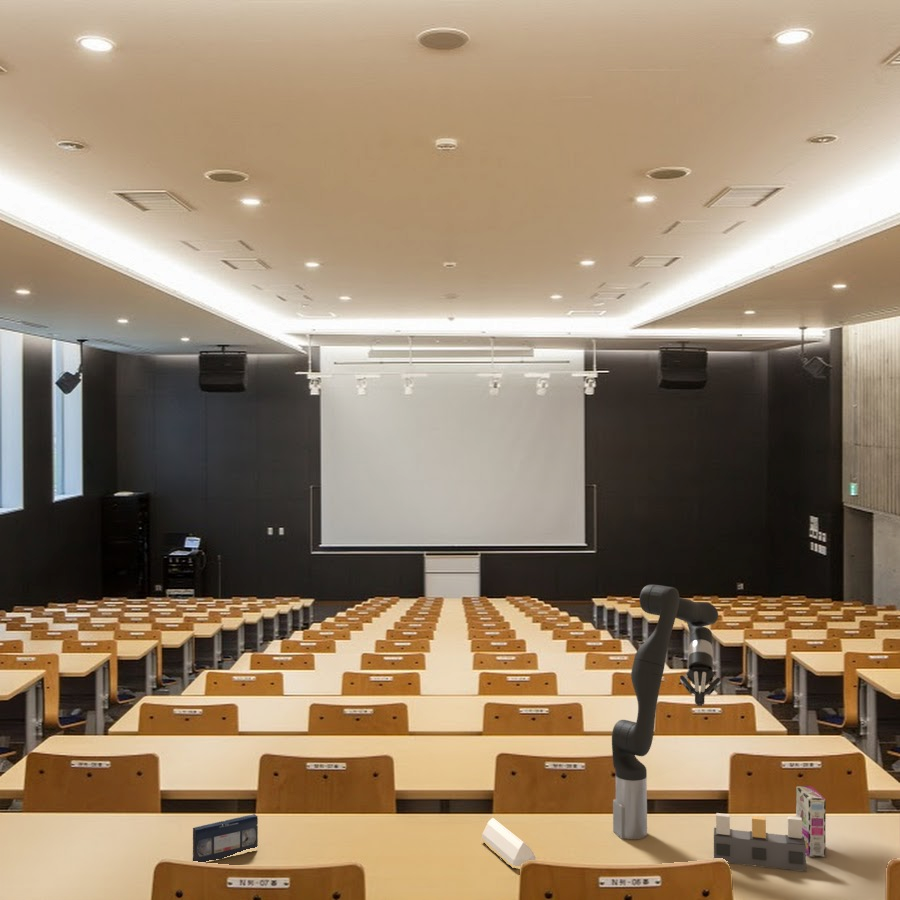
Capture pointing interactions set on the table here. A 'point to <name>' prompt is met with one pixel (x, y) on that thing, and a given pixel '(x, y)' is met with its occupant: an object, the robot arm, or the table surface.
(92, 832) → the table surface
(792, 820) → the switch right
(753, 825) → the switch middle
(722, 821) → the switch left
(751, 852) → the power strip
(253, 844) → the vhs cassette tape
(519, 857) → the crystal
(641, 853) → the table surface
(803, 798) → the candy bar box
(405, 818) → the table surface
